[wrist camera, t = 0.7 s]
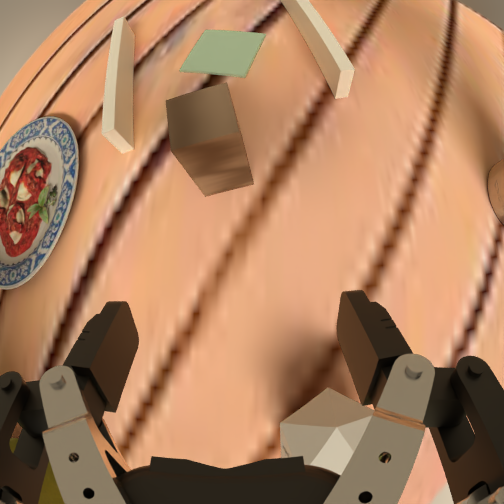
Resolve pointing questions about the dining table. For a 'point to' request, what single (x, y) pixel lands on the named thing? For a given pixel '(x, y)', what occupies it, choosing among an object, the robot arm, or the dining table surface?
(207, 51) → the pad
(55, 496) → the plant pot
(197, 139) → the walnut block
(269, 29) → the dining table surface
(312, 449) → the die
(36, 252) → the ceramic plate
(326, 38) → the arena
